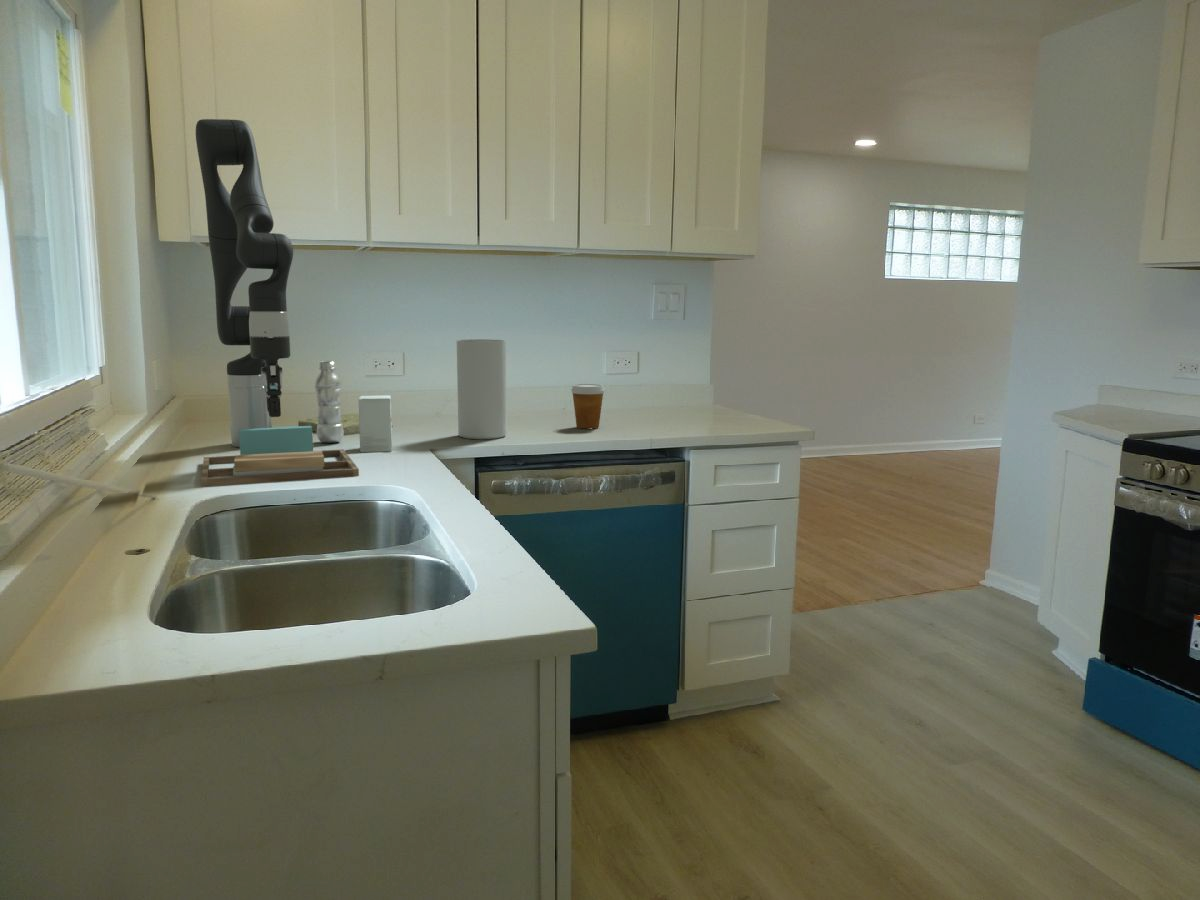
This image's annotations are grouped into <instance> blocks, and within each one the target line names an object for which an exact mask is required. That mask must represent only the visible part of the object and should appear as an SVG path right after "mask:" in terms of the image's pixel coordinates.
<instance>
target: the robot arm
mask: <svg viewBox="0 0 1200 900" xmlns="http://www.w3.org/2000/svg"><path fill="white" fill-rule="evenodd" d="M195 142H196V148H197V149H196V150H197V155H198V160H199V166H200V172H201V178H202V179H201V180H202V183H203V185H202V186H203V190H204V196H205V198H204V199H205V206H206V208H205V209H206V211H205V212H206V221H207V222H206V224H207V232H208V234H207V235H208V243H209V244H208V245H209V251H210V256H211V264H212V271H213V278H214V279H213V281H214V290H215V291H214V292H215V309H216V312H215V313H216V330H217V334H218V338H219V341H220V342H221V344H222V345H224V346H249V348H250V352H249V353H247V354H246V355H244V356H242V357H240V358H236V359H234V360H231V361H229V362H227V364H226V379H227V390H228V405H229V406H228V407H229V409H228V410H229V423H230V435H231V446H232V447H234V448H235V447H236V448H240V441H239V429H253V428H273V427H272V426H273V425H272V418H280V417H281V416H282V412H281V411H282V409H281V396H282V393H283V392H282V389H283V367H282V366H280V365H279V362H278V361H279V360H280V359H289V358H290V357H291V343H290V342H291V340H290V337H291V336H290V322H289V318H288V312H287V311H288V309H287V306H288V305H287V285H288V279H289V275H290V271H291V267H292V263H293V258H294V247H293V243H292V241H291V240H290V238H289V237H288V236H287V235H285V234H283V233H276V232H275V233H273V232H272V231H273V228H274V219H273V218H274V217H273V215H272V213H271V210H270V207H269V204H268V201H267V198H266V194H265V190H264V187H263V182H262V181H263V180H262V174H261V169H260V164H259V163H260V162H259V159H258V158H259V157H258V153H257V149H256V143H255V139H254V136H253V132H252V130H251V128H250V126H249V124H248V123H247V122H245V121H244V120H239V119H224V118H223V119H220V118H219V119H218V118H217V119H214V118H203V119H199V120H198V121H197V122H196V125H195ZM241 165H242V168H241V169H242V170H241V172H240V174H239V176H238V177H237V179H236V181H235V182H234V184H233V185H232V188H231V191H230V193H229V191H228V190H227V188H226V186H225V185H224V183H223V182H222V179H221V177H220V175H219V171H218V166H241ZM271 232H272V233H271ZM247 269H252V270H255V269H256V270H257V269H258V270H259V269H260V270H272V273H271V275H270V276H269V277H268V279H264V280H257V281H254V282H251V283H250V284H249V285H248V306H246V305H244V306H242V305H240V306H239V305H238V306H236V305H235V306H234V305H233V306H232V305H231V300H232V296H233V293H235V289H236V288H237V285H238V283H239V282H240V280H241V278H242V276H243V275H245V272H246V271H247Z"/></svg>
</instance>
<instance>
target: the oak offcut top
mask: <svg viewBox="0 0 1200 900" xmlns="http://www.w3.org/2000/svg"><path fill="white" fill-rule="evenodd" d="M322 451H323V450H313V451H309V452H289V453H269V454H250V455H240V454H235V455H234V456H235V460H234V463H233V466H234V467H235V472H240V471H258V470H275V469H293V468H310V467H324V462H325V457H324V455H323V452H322Z"/></svg>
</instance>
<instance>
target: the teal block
mask: <svg viewBox="0 0 1200 900" xmlns="http://www.w3.org/2000/svg"><path fill="white" fill-rule="evenodd" d="M313 437H314V436H313V431H312V427H311V426H298V425H297V426H296V425H295V426H279V427H277V426H275V427H272V428H253V429H239V441H240V447H239V455H250V454H269V453H289V452H309V451H314V440H313Z"/></svg>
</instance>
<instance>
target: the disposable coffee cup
mask: <svg viewBox="0 0 1200 900" xmlns="http://www.w3.org/2000/svg"><path fill="white" fill-rule="evenodd" d="M570 391H571V393H572V399H573V408H574V415H575V425H576V428H577V427H578V428H577V429H580V428H596V429H599V428H598V427H600V421H601V413H602V404H603V399H604V398H603V396H604V394H605V391H606V390H605V388H604V385H603V384H600V383H599V384H598V383H576V384H573V385H572V387H571V389H570Z"/></svg>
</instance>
